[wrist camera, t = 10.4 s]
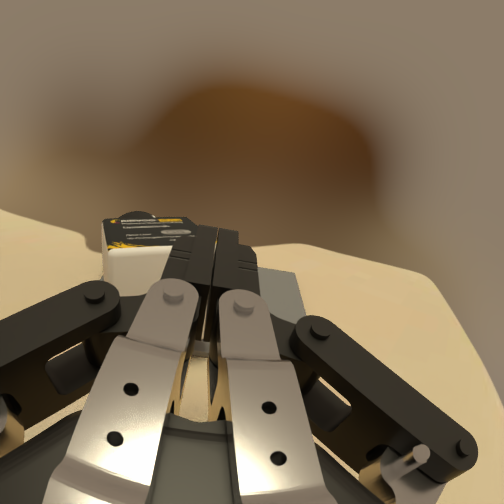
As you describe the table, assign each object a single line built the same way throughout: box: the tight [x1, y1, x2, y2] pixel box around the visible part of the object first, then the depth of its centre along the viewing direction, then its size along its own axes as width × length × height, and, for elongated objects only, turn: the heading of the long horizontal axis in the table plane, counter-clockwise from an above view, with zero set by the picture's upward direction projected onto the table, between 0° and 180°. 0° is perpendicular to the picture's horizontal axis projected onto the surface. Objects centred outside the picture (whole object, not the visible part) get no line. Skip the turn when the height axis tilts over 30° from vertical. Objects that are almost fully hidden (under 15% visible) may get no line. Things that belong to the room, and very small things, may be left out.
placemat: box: [100, 267, 306, 357], centre depth 26 cm, size 20×13×1 cm, turn 93°
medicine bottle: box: [102, 211, 217, 339], centre depth 22 cm, size 7×7×12 cm
